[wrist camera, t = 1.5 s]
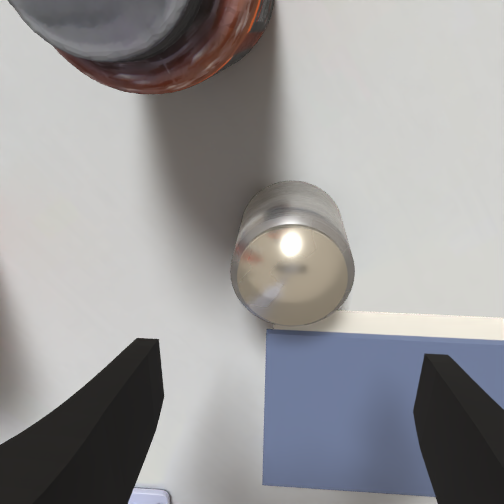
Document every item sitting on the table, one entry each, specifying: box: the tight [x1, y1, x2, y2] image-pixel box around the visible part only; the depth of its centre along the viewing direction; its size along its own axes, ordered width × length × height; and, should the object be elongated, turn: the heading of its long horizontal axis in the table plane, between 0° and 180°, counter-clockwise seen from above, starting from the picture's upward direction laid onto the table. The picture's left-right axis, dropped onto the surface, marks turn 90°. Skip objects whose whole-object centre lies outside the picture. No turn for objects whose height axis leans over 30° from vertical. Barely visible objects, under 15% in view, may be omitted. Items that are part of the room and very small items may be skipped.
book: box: [262, 310, 504, 497], centre depth 25 cm, size 10×14×3 cm
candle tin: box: [230, 181, 355, 326], centre depth 21 cm, size 5×5×5 cm
